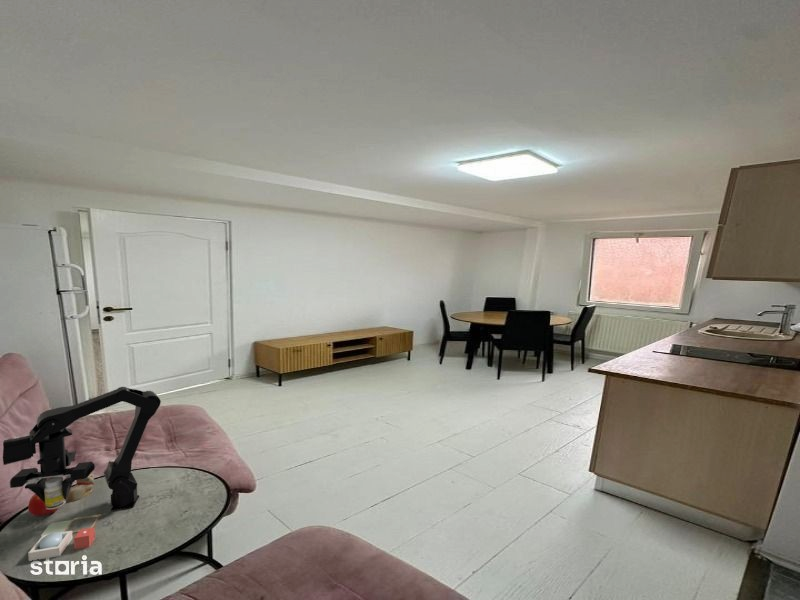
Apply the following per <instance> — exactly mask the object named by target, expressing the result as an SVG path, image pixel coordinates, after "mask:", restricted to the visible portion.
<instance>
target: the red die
mask: <svg viewBox="0 0 800 600" xmlns="http://www.w3.org/2000/svg"><path fill="white" fill-rule="evenodd" d="M95 528H96V527H95V526H93V528H90V527H89V528H81V529H79V532H77V533H76V535H75V536H74V537H73V543H74V544H73V545H74V550H80V549H85V548H90V547H91V546H92V545H93V542H94V541H95V540H96V531H95V530H96V529H95Z"/></svg>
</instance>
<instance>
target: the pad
mask: <svg viewBox="0 0 800 600" xmlns="http://www.w3.org/2000/svg"><path fill="white" fill-rule="evenodd" d="M72 521H73V519H70V520H65V521H57V522H51V523H50V524H49V525H48V526H47V527H46V528H45V530H44V531H43V532H42V533H41V534H40V538H41V537H42V536H43V535H47V534H52V533H56V532H64V531H65V530H66V528H67V527H68V526H69V524H70V523H71V522H72Z"/></svg>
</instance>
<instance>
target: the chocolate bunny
mask: <svg viewBox="0 0 800 600" xmlns="http://www.w3.org/2000/svg"><path fill="white" fill-rule="evenodd" d="M94 481H95V474H94V473H93V472H91V474H90V475H89V476H88V477H87V478H85V479H79V480H75V482H76V484H75V485H74V486H71V489H70V492H69V494H68V497H67V498H66V503H71V502H76V501H79V500H81V499H84V498H86V497H88V496H89V495H91V494H92V493H93V487H94V485H95V483H94Z"/></svg>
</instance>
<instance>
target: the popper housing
mask: <svg viewBox="0 0 800 600" xmlns="http://www.w3.org/2000/svg"><path fill="white" fill-rule="evenodd" d="M72 531H73V530H67V531H66V532H60V533H62V541H61V542H60V544H59V545H58V546H57V547H51V548H45V549H40V543H39V542H40V540H41V539H42V538H43V537H45V536H47V535H49V534H47V535H43V536H41V537H40V538H39V540H37V542H36V543H35V544H34V546H32V547H31V549H30V551H28V553H27V554H28V555H27V556H28V562H32V560H33V561H38V560H37V559H39V560H44V559H50V558H56V557H60V556H61V555H62V554H63V552H64V551H65V550H66V548H67V547H68V545H69V544H70V542H71V541H72V540H73V539H74V537H73V533H72Z"/></svg>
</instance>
